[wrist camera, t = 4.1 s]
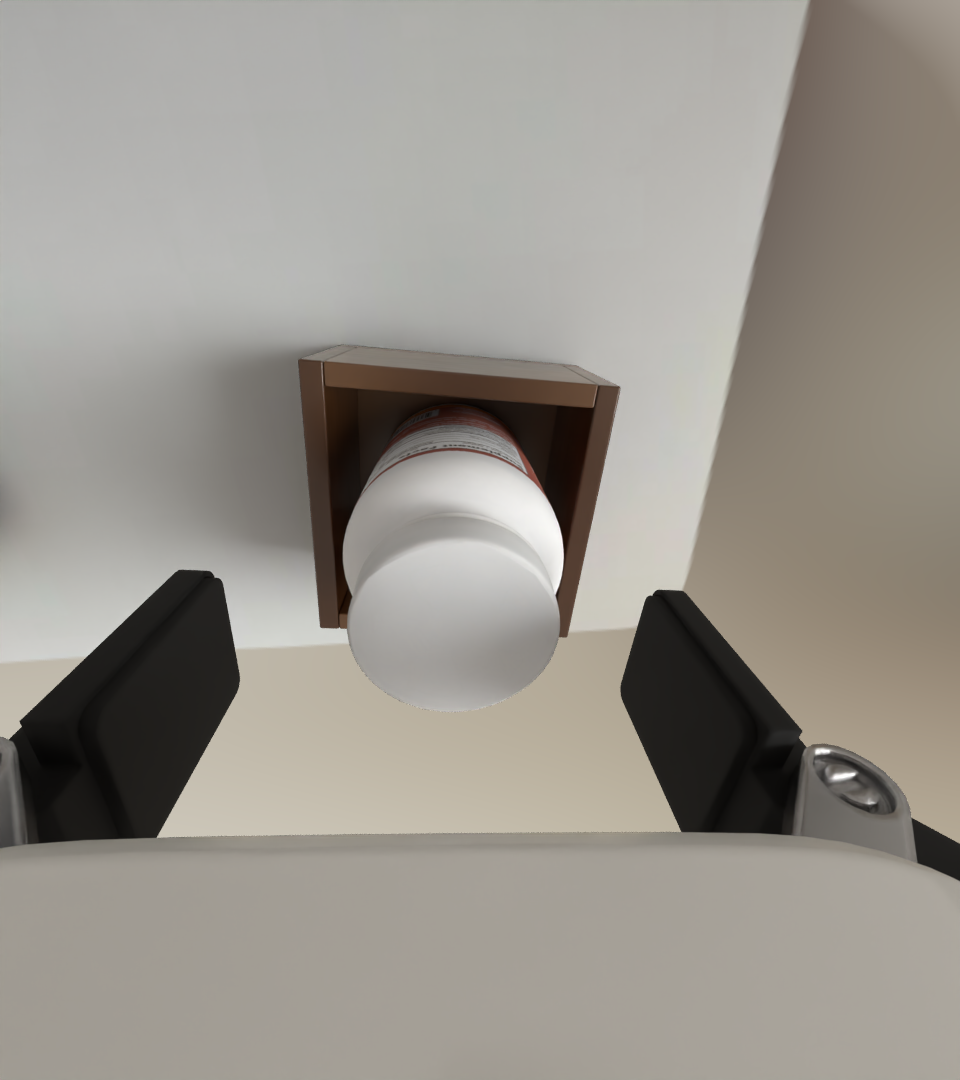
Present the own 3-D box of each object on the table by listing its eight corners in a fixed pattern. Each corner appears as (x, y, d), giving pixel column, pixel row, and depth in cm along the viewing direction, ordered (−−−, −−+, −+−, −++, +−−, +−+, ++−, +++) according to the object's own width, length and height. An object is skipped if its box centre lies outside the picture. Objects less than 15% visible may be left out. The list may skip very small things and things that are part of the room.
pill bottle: (501, 551, 22) (540, 754, 12) (370, 520, 21) (293, 715, 11) (545, 422, 19) (644, 547, 9) (398, 380, 18) (332, 468, 8)
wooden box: (577, 365, 19) (621, 386, 14) (542, 565, 23) (567, 638, 18) (340, 344, 18) (297, 359, 13) (350, 556, 22) (319, 628, 17)
